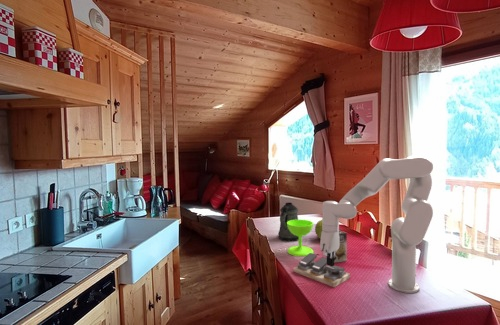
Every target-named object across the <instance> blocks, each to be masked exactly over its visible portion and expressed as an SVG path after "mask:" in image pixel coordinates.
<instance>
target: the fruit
mask: <svg viewBox="0 0 500 325" xmlns="http://www.w3.org/2000/svg"><path fill="white" fill-rule="evenodd" d="M314 230H315V231H314V232H315V234H316V236H317V237H318V239H320V240H321V233H322V231H323V230H322V219H321V220H319V221H317V223H316V224H315V229H314Z"/></svg>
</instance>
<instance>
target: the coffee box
mask: <svg viewBox="0 0 500 325" xmlns="http://www.w3.org/2000/svg"><path fill="white" fill-rule="evenodd" d="M339 239H340V246H339V249H338V250H337V251H336V253H335V257H334V264H335V263H342V262H347V261H348V258H347V256H348V249H347V248H348V247H347V246H348V245H347V240H348V232H345V231H342V230H340V229H339Z"/></svg>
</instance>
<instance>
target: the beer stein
mask: <svg viewBox="0 0 500 325" xmlns="http://www.w3.org/2000/svg"><path fill="white" fill-rule="evenodd" d="M298 212H299V209H298V208H297V207H296V206H295V205H294V204H293V202H285V203H284V205H283V206H282V207H281V208H280V213H281V214H280V216H279V222H280V225H279V231H278V233H277V235H278V239H280V241H284V242H297V241H298V242H299V236H296V235H294V234H293V233H291V232H290V230H289V229H288V227H287V222H288V221H290V220H299V216H298Z"/></svg>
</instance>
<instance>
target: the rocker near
mask: <svg viewBox="0 0 500 325" xmlns="http://www.w3.org/2000/svg"><path fill="white" fill-rule="evenodd" d="M325 269H327V270H330V271H332V272H337V271H345V267H341V266H339V265H334V266H329V265H327V266H325Z"/></svg>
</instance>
